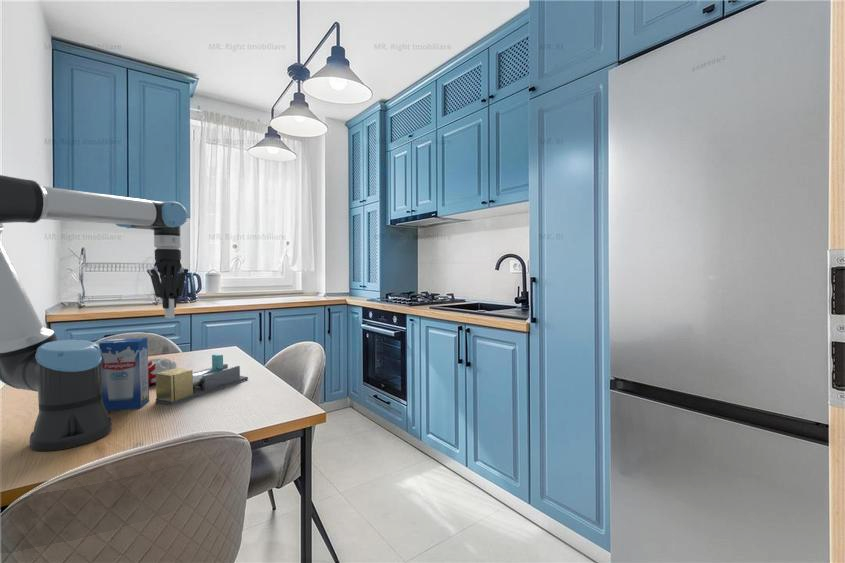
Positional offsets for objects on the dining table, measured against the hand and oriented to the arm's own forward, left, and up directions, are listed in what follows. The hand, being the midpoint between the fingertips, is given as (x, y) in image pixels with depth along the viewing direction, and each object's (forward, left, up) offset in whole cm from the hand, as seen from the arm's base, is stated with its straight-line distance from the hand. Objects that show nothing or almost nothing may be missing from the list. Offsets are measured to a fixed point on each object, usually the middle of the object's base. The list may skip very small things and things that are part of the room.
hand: (169, 317), depth 133 cm
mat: (0, -13, -24) cm, 28 cm away
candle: (+4, +11, -25) cm, 27 cm away
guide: (-2, -12, -23) cm, 26 cm away
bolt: (-3, -12, -22) cm, 25 cm away
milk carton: (-17, +2, -25) cm, 30 cm away
